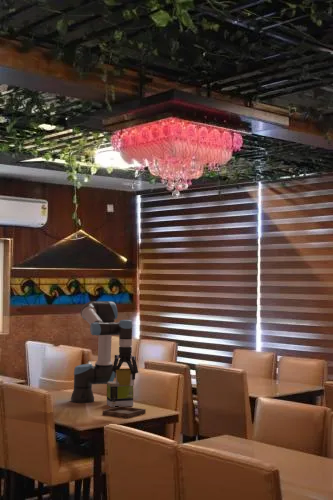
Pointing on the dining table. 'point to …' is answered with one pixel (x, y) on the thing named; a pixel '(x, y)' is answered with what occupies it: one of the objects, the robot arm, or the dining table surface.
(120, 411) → the walnut tray
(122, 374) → the flower pot
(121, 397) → the tea box
